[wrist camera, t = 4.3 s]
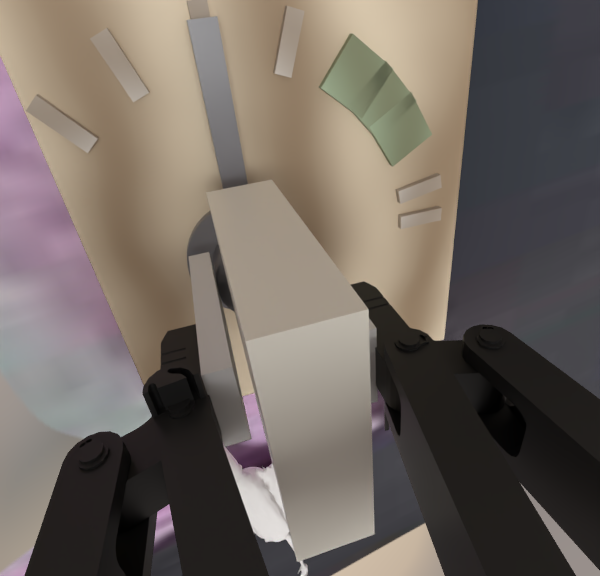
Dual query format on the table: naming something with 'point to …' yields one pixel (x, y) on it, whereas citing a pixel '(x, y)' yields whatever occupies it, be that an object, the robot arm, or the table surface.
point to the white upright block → (289, 331)
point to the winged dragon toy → (262, 502)
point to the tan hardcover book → (250, 139)
